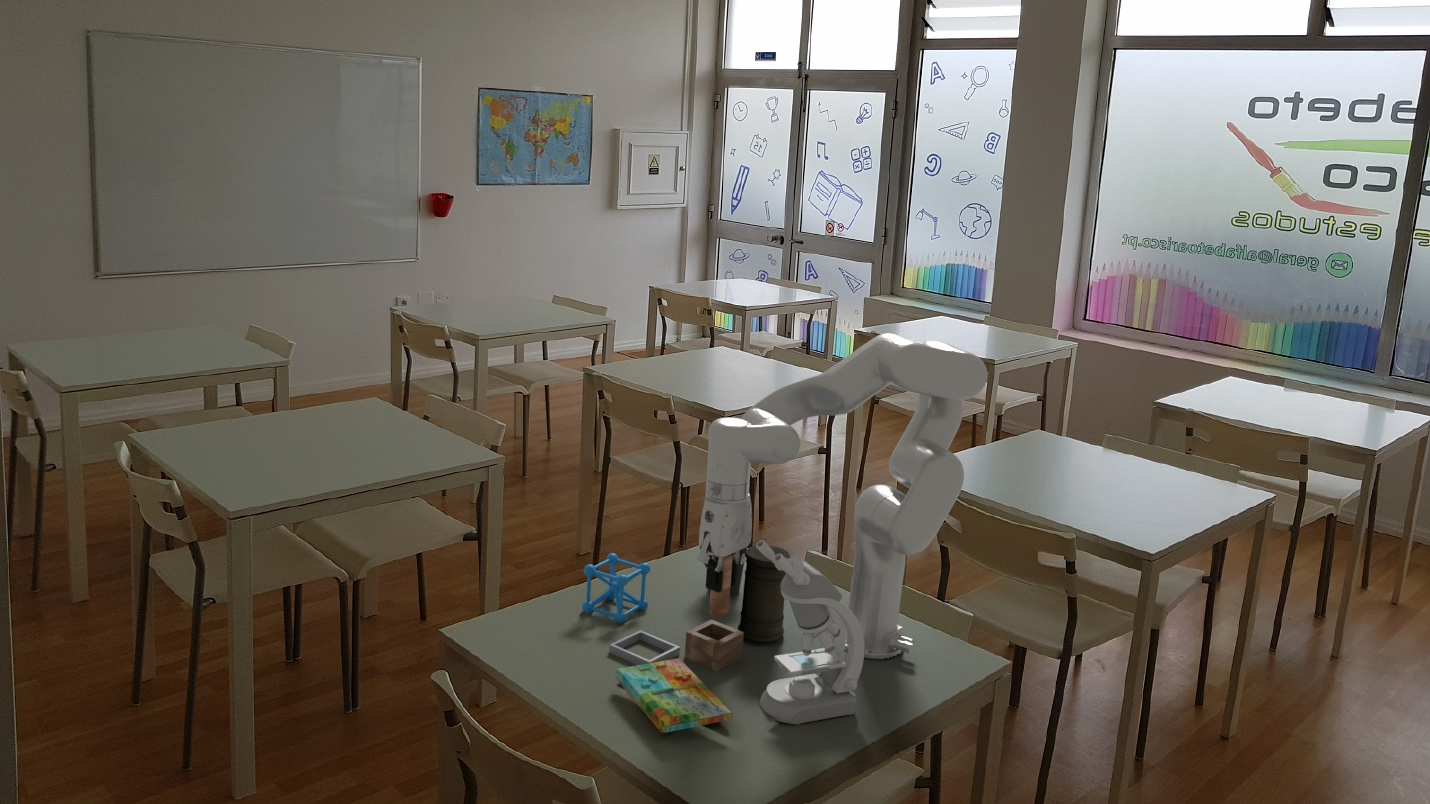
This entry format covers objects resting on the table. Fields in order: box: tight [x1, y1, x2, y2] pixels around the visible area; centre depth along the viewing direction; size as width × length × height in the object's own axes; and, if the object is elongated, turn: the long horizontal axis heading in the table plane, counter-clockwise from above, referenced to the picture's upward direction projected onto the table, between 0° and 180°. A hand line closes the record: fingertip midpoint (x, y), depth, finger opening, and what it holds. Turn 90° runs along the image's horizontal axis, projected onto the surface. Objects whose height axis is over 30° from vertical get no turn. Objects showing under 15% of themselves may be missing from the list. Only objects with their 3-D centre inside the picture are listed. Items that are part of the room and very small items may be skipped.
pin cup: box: [684, 619, 744, 672], centre depth 204 cm, size 7×7×6 cm
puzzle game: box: [615, 658, 733, 734], centre depth 187 cm, size 12×5×20 cm
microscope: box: [755, 539, 865, 726], centre depth 187 cm, size 11×19×30 cm, turn 116°
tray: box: [608, 629, 681, 666], centre depth 204 cm, size 10×8×2 cm
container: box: [737, 544, 791, 648], centre depth 213 cm, size 9×9×18 cm
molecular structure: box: [581, 552, 651, 624], centre depth 222 cm, size 10×10×10 cm
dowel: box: [708, 554, 733, 618], centre depth 201 cm, size 4×4×11 cm
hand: (720, 585), depth 201 cm, fingers closed on dowel, 3 cm apart
